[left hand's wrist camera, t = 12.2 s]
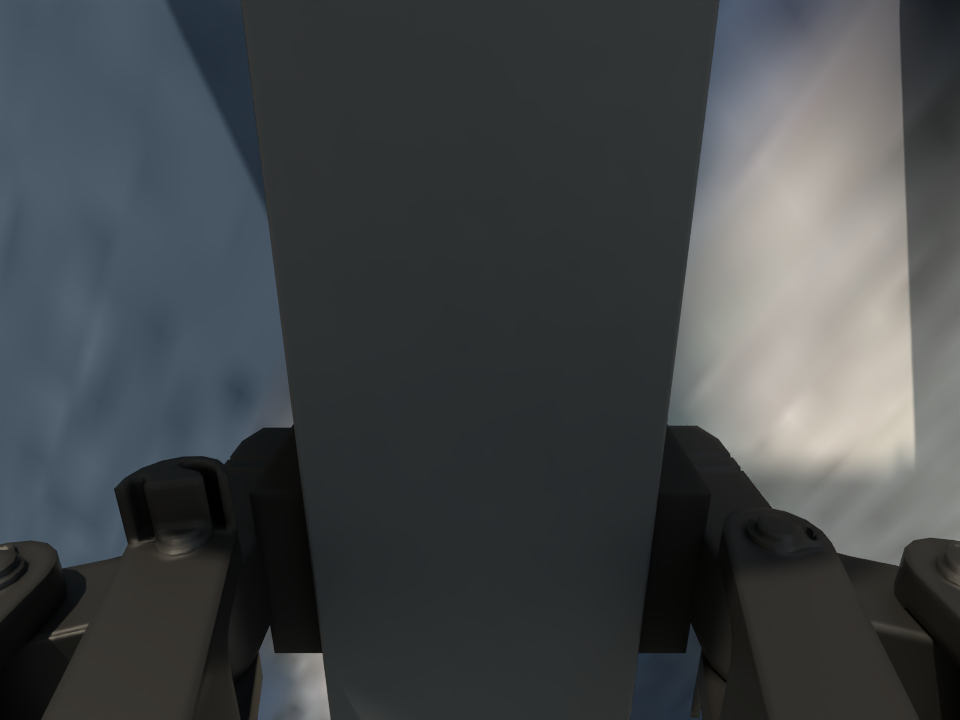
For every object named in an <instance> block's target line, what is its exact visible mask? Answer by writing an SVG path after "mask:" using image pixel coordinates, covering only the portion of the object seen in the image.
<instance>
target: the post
mask: <svg viewBox="0 0 960 720" xmlns="http://www.w3.org/2000/svg"><path fill="white" fill-rule="evenodd" d="M241 7H242V15H243V23H244V31H245V39H246V47H247V55H248V62H249V70H250V78H251V86H252V94H253V102H254V110H255V118H256V126H257V134H258V142H259V150H260V158H261V166H262V174H263V182H264V190H265V198H266V206H267V214H268V222H269V230H270V238H271V246H272V254H273V262H274V270H275V278H276V286H277V294H278V302H279V310H280V318H281V326H282V334H283V342H284V350H285V358H286V366H287V374H288V382H289V390H290V398H291V406H292V414H293V422H294V430H295V438H296V446H297V454H298V462H299V470H300V478H301V486H302V494H303V502H304V509H305V517H306V525H307V533H308V541H309V549H310V557H311V565H312V573H313V581H314V589H315V597H316V605H317V613H318V621H319V629H320V637H321V645H322V653H323V661H324V669H325V677H326V685H327V693H328V701H329V709H330V717H331V720H630V716H631V708H632V700H633V692H634V684H635V676H636V668H637V660H638V652H639V644H640V636H641V628H642V620H643V612H644V604H645V595H646V587H647V579H648V571H649V563H650V555H651V547H652V539H653V531H654V523H655V515H656V507H657V499H658V491H659V483H660V475H661V467H662V459H663V451H664V443H665V435H666V427H667V419H668V411H669V402H670V394H671V386H672V378H673V370H674V362H675V354H676V346H677V338H678V330H679V322H680V314H681V306H682V298H683V290H684V282H685V274H686V266H687V258H688V250H689V242H690V234H691V226H692V218H693V209H694V201H695V193H696V185H697V177H698V169H699V161H700V153H701V145H702V137H703V129H704V121H705V113H706V105H707V97H708V89H709V81H710V73H711V65H712V57H713V49H714V41H715V33H716V25H717V17H718V8H719V0H241Z"/></svg>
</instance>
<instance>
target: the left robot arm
mask: <svg viewBox="0 0 960 720" xmlns="http://www.w3.org/2000/svg"><path fill="white" fill-rule="evenodd" d="M114 491H115V495H116V498H117V502H118V506H119V510H120V514H121V518H122V522H123V526H124V530H125V534H126V538H127V542H128V545H127V547H126V549H125V551H124V553H123V555H122V556H120V557H116V558H112V559H108V560H103V561H98V562H93V563H88V564H83V565H78V566H73V567H68V568H63V569H62V567H61V563H60V560H59V557H58V554H57V551H56V550H55V549H54V548H53V547H52V546H50V545H49V544H48V543H43V542H37V541H22V542H13V543H5V544H0V720H257V718H258V710H259V703H260V695H261V687H262V679H263V676H262V668H261V661H260V656H259V649H260V647H261V644H262V642H263V640H264V637H265V635H266V633H267V630H268V628H269V626H270V627H271V633H272V639H273V645H274V651H275V653H322V645H321V637H320V629H319V621H318V613H317V605H316V597H315V589H314V581H313V573H312V565H311V557H310V549H309V541H308V533H307V525H306V517H305V509H304V502H303V494H302V486H301V478H300V470H299V462H298V454H297V446H296V438H295V430H294V424H293V426H292V427H291V428H262V429H261V430H259V431H258V432H256V433H254V434H253V435H251V436H250V437H248V438H246V439H245V440H243V441H242V442H241V443H240V445H239V446H238V447H237V449H236V450H235V451H234V453H233V454H232V455H231V456H230V460H227V462H226V463H225V464H223V463H221V462H220V461H219V460H217V459H213V458H208V457H204V456H189V457H179V458H174V459H168V460H163V461H160V462H157V463H155V464H152V465H149V466H146V467H143V468H141V469H139V470H138V471H136V472H134V473H133V474H131V475H129V476H127V477H126V478H124V479H123V480H122V481H121V483H120V484H119V485H118V486H117V487H116V488H115V489H114ZM690 623H691V624H692V626H693V629H694V631H695V633H696V636H697V638H698V640H699V643H700V645H701V647H702V650H701V656H700V661H699V667H698V673H697V679H696V684H695V690H694V696H693V702H692V709H691V716H690V717H694V718H699V714H700V708H701V709H702V717H703V720H960V541H955V540H946V539H937V538H926V539H920V540H914V541H913V542H911V543H910V544H909V545H908V546H906V547H905V549H904V552H903V555H902V559H901V562H900V565H899V566H896V565H891V564H886V563H881V562H876V561H871V560H866V559H861V558H856V557H851V556H847V555H843V554H839V553H837V552H836V550H835V548H834V546H833V544H832V543H831V542H830V540H829V539H828V538H827V537H826V535H825V534H824V533H823V532H822V531H821V530H820V529H818V528H817V527H815V526H814V525H813V524H811V523H810V522H808V521H807V520H805V519H802V518H800V517H798V516H795V515H793V514H791V513H788V512H785V511H781V510H776V509H772V508H771V506H770V505H769V504H768V502H767V501H766V500H765V499H764V497H763V496H762V495H761V493H760V492H759V491H758V489H757V488H756V487H755V486H754V484H753V483H752V482H751V480H750V479H749V478H748V477H747V475H746V474H745V473H744V471H741V470H740V466H739V465H738V464H737V462H736V461H735V460H734V459H733V458H731V457H730V453H729V452H728V451H727V450H726V448H725V447H724V446H723V444H722V443H721V442H720V441H719V439H717V438H716V437H714V436H713V435H711V434H709V433H708V432H706V431H705V430H703V429H701V428H700V427H698V426H668V425H667V427H666V435H665V443H664V451H663V459H662V467H661V475H660V483H659V491H658V499H657V507H656V515H655V523H654V531H653V539H652V547H651V555H650V563H649V571H648V579H647V587H646V595H645V604H644V612H643V620H642V628H641V636H640V644H639V652H638V653H686V648H687V642H688V635H689V629H690Z"/></svg>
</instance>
